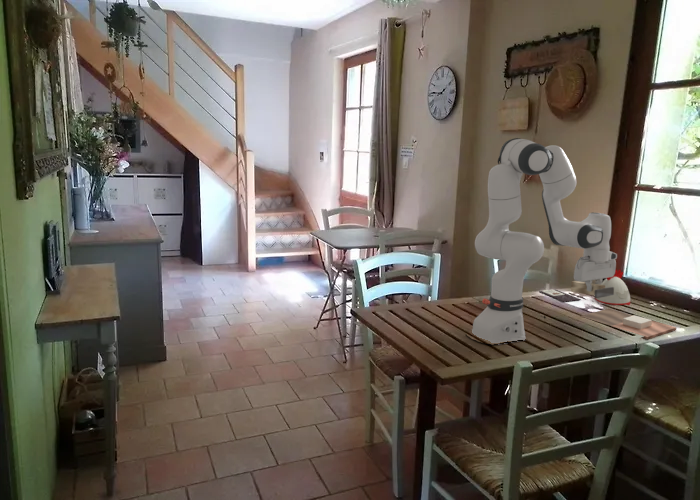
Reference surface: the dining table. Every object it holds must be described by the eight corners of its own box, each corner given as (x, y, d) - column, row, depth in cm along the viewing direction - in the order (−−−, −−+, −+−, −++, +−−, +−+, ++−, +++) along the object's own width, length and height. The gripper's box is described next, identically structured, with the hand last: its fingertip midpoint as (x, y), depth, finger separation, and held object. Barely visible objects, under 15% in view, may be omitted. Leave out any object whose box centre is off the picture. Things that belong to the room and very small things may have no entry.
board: (647, 339, 187) (647, 336, 187) (579, 318, 211) (579, 316, 211) (676, 330, 196) (676, 327, 196) (608, 310, 220) (608, 308, 220)
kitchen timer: (637, 305, 226) (640, 271, 223) (610, 308, 223) (612, 274, 220) (614, 296, 239) (616, 265, 236) (588, 299, 236) (590, 267, 233)
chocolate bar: (563, 301, 233) (539, 291, 250) (563, 303, 233) (539, 293, 250) (580, 299, 235) (555, 289, 252) (580, 301, 235) (555, 291, 252)
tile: (640, 329, 195) (640, 323, 194) (622, 323, 201) (623, 318, 200) (651, 325, 198) (652, 320, 198) (633, 320, 204) (634, 315, 204)
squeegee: (564, 292, 207) (565, 282, 206) (581, 289, 212) (581, 279, 211) (597, 298, 194) (597, 287, 194) (613, 294, 199) (613, 284, 199)
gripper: (585, 258, 191) (582, 295, 193) (620, 254, 201) (616, 289, 203) (570, 256, 197) (568, 291, 199) (605, 251, 207) (602, 285, 209)
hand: (593, 290), depth 201 cm, fingers closed on squeegee, 2 cm apart
